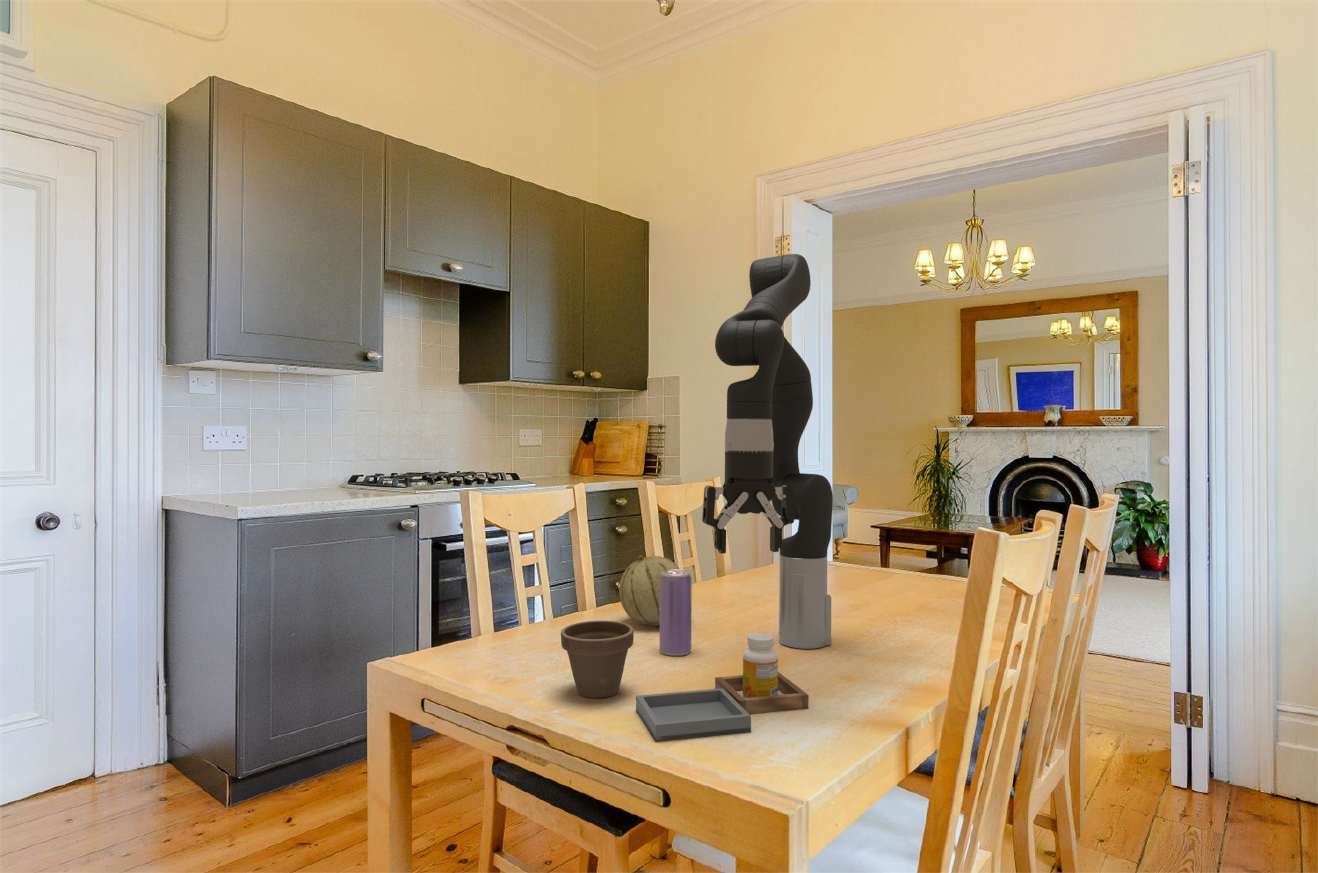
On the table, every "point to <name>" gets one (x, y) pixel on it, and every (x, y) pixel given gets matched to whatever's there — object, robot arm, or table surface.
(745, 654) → the supplement bottle
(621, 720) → the table surface
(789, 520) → the robot arm
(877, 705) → the table surface
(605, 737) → the table surface
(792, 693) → the brown wooden square frame
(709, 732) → the tray
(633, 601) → the cantaloupe
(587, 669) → the flower pot
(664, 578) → the beverage can
